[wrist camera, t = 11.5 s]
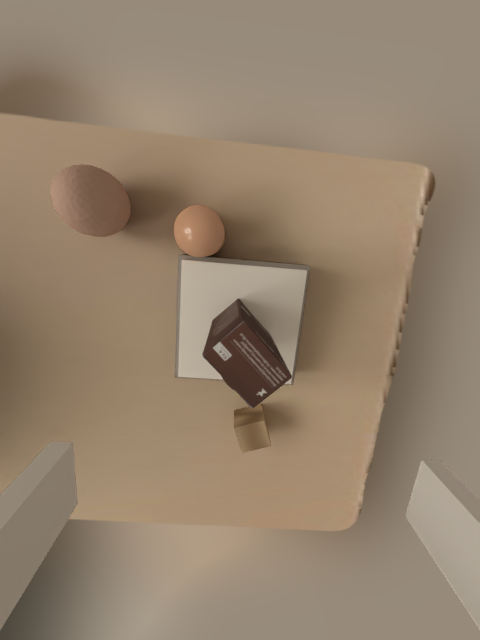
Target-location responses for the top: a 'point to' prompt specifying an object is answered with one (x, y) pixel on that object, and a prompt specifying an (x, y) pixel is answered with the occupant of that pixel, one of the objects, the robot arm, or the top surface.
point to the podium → (226, 287)
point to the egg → (90, 200)
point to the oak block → (251, 428)
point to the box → (245, 354)
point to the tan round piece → (199, 231)
